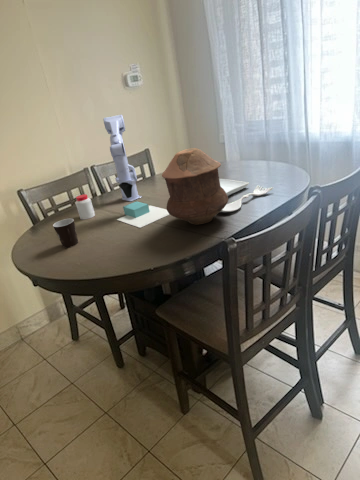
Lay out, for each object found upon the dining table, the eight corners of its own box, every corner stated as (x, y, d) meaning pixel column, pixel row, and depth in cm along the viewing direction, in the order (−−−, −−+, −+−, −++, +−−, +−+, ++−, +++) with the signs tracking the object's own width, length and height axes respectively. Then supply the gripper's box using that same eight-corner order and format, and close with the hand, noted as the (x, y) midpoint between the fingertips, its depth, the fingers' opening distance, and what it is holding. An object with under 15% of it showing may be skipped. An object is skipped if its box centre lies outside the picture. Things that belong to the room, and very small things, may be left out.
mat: (116, 220, 165) (116, 219, 165) (150, 205, 176) (150, 205, 176) (140, 228, 150) (140, 227, 150) (175, 212, 161) (175, 211, 161)
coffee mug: (62, 241, 151) (55, 220, 147) (82, 238, 151) (75, 217, 147) (56, 253, 141) (48, 231, 137) (77, 249, 141) (70, 227, 137)
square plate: (214, 206, 160) (213, 198, 158) (175, 199, 180) (174, 192, 178) (250, 188, 175) (249, 181, 173) (211, 183, 195) (210, 176, 193)
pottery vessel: (241, 222, 137) (233, 146, 125) (180, 240, 132) (165, 162, 120) (216, 205, 160) (207, 139, 148) (163, 219, 155) (149, 152, 143)
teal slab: (122, 206, 168) (134, 209, 161) (136, 201, 172) (147, 204, 165) (124, 214, 170) (136, 217, 162) (138, 208, 174) (149, 211, 167)
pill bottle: (98, 213, 180) (92, 193, 175) (90, 219, 173) (83, 198, 169) (85, 213, 182) (79, 194, 178) (77, 219, 176) (70, 199, 171)
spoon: (274, 193, 163) (274, 185, 161) (229, 217, 145) (228, 209, 144) (258, 190, 169) (258, 184, 168) (213, 213, 152) (212, 206, 150)
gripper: (107, 171, 165) (114, 198, 171) (123, 173, 155) (130, 202, 160) (120, 167, 169) (126, 193, 175) (136, 169, 159) (142, 197, 164)
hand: (129, 197), depth 168 cm, fingers closed
